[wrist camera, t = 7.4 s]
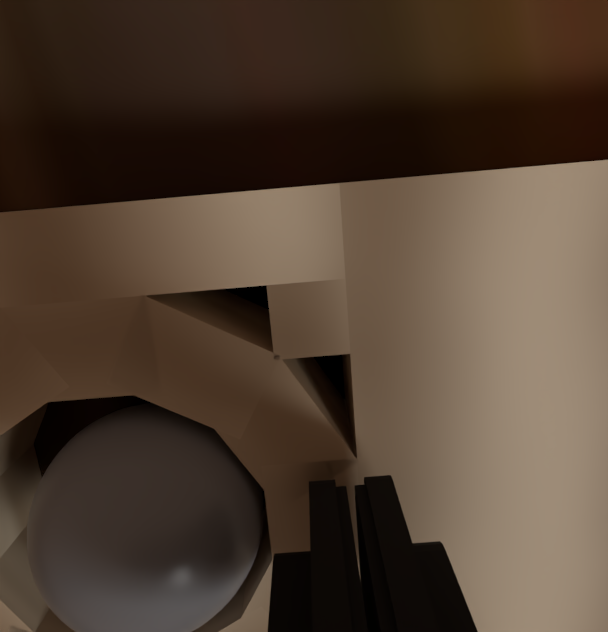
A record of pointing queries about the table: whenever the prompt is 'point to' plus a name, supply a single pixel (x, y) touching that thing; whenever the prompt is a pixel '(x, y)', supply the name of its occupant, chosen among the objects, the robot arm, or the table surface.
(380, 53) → the table surface
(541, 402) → the beige flat board
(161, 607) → the ball
